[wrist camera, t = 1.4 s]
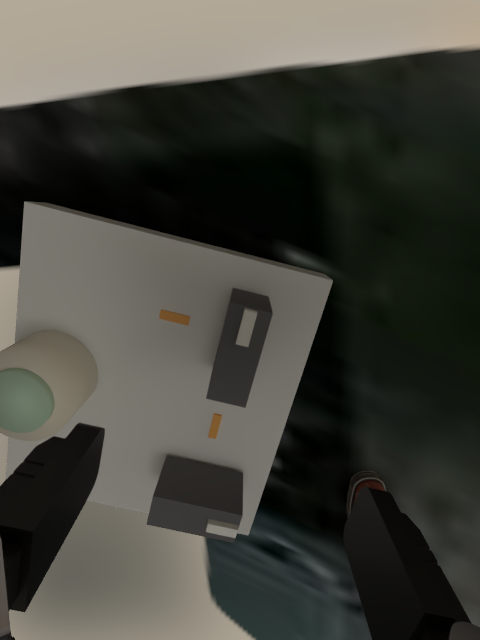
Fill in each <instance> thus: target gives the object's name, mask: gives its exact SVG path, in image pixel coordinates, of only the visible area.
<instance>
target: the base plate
mask: <svg viewBox="0 0 480 640" xmlns="http://www.w3.org/2000/svg"><path fill="white" fill-rule="evenodd" d="M332 283H333V280H332V279H331V278H329V277H328V276H327V275H325V274H322V273H318V272H315V271H311V270H307V269H303V268H299V267H295V266H291V265H287V264H283V263H279V262H276V261H272V260H268V259H264V258H260V257H256V256H252V255H248V254H244V253H240V252H237V251H233V250H229V249H225V248H221V247H217V246H213V245H209V244H205V243H201V242H198V241H194V240H190V239H186V238H182V237H178V236H174V235H170V234H166V233H162V232H159V231H155V230H151V229H147V228H143V227H139V226H135V225H131V224H127V223H123V222H120V221H116V220H112V219H108V218H104V217H100V216H96V215H92V214H88V213H85V212H81V211H77V210H73V209H69V208H65V207H61V206H57V205H53V204H49V203H42V202H24V215H23V230H22V245H21V260H20V275H19V290H18V291H19V292H18V305H17V320H16V335H15V344H13V345H11V346H9V347H8V348H6V349H4V350H2V351H1V352H0V433H2V434H4V435H6V436H9V441H8V455H7V470H6V471H7V472H6V479H7V478H8V477H9V476H10V475H11V474H13V472H14V470H15V469H16V468H17V467H18V466H19V465H20V464H21V463H23V461H24V459H25V458H26V457H27V456H28V455H29V454H30V453H31V451H32V450H33V449H34V448H35V447H36V446H37V445H39V444H41V443H43V442H44V441H46V440H48V439H50V438H51V437H53V436H56V437H61V438H66V437H67V436H68V434H69V433H70V432H71V431H72V429H73V428H74V427H75V426H76V425H77V424H78V423H84V424H89V425H93V426H98V427H102V428H105V436H104V442H103V448H102V454H101V460H100V467H99V472H98V476H97V479H96V482H95V485H94V487H93V489H92V491H91V493H90V495H89V497H88V499H87V501H89V502H94V503H99V504H104V505H109V506H113V507H117V508H122V509H127V510H131V511H136V512H141V513H146V514H149V512H150V507H151V502H152V498H153V494H154V491H155V488H156V485H157V482H158V479H159V476H160V473H161V470H162V467H163V464H164V461H165V458H166V456H171V457H175V458H180V459H184V460H189V461H193V462H198V463H202V464H207V465H211V466H216V467H220V468H225V469H229V470H234V471H238V472H243V516H242V519H241V522H240V525H239V528H238V532H237V533H239V534H244V535H249V532H250V529H251V526H252V523H253V520H254V517H255V514H256V511H257V508H258V505H259V502H260V499H261V496H262V493H263V490H264V487H265V484H266V481H267V478H268V475H269V472H270V469H271V466H272V463H273V460H274V457H275V454H276V451H277V448H278V445H279V442H280V439H281V436H282V433H283V430H284V427H285V424H286V421H287V418H288V415H289V412H290V409H291V406H292V403H293V400H294V397H295V394H296V391H297V388H298V385H299V382H300V379H301V376H302V373H303V370H304V367H305V364H306V361H307V358H308V355H309V352H310V349H311V346H312V343H313V340H314V337H315V334H316V331H317V328H318V325H319V322H320V319H321V316H322V313H323V310H324V307H325V304H326V301H327V298H328V295H329V292H330V289H331V286H332ZM233 288H236V289H240V290H244V291H248V292H252V293H256V294H260V295H264V296H268V297H269V300H270V304H271V308H272V312H273V315H272V318H271V322H270V325H269V329H268V332H267V335H266V339H265V342H264V346H263V349H262V353H261V356H260V360H259V363H258V366H257V370H256V373H255V377H254V380H253V384H252V387H251V391H250V394H249V398H248V401H247V404H246V408H244V407H240V406H235V405H231V404H227V403H222V402H218V401H214V400H210V399H206V396H207V392H208V387H209V383H210V378H211V374H212V369H213V365H214V361H215V357H216V353H217V349H218V345H219V341H220V337H221V333H222V329H223V325H224V321H225V317H226V313H227V309H228V305H229V301H230V297H231V293H232V289H233Z"/></svg>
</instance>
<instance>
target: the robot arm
mask: <svg viewBox="0 0 480 640" xmlns="http://www.w3.org/2000/svg"><path fill="white" fill-rule="evenodd" d="M104 436H105V428H102V427H98V426H93V425H89V424H84V423H78V424H77V425H76V426H75V427H74V428H73V429H72V431H71V432H70V433H69V434H68V436H67V437H66V438H61V437H56V436H53V437H51V438H50V439H48V440H46V441H44V442H43V443H41V444H39V445H37V446H36V447H35V448H34V449H33V450H32V451H31V453H30V454H29V455H28V456H27V457H26V458H25V459H24V461H23V463H21V464H20V465H19V466H18V467H17V468H16V469H15V470H14V472H13V474H11V475H10V476H9V477H8V478H7V479H6V480H5V481H4V483H3V484H2V485H1V486H0V640H15V638H14V637H12V636H11V631H10V623H9V610H10V609H11V610H17V611H21V612H25V611H26V609H27V607H28V606H29V604H30V602H31V600H32V598H33V596H34V595H35V593H36V591H37V589H38V587H39V585H40V584H41V582H42V580H43V578H44V577H45V575H46V573H47V571H48V569H49V568H50V566H51V564H52V562H53V560H54V559H55V557H56V555H57V553H58V551H59V549H60V548H61V546H62V544H63V542H64V540H65V539H66V537H67V535H68V533H69V531H70V530H71V528H72V526H73V524H74V522H75V520H76V519H77V517H78V515H79V513H80V511H81V510H82V508H83V506H84V504H85V502H86V501H87V499H88V497H89V495H90V493H91V491H92V489H93V487H94V485H95V482H96V479H97V476H98V472H99V467H100V460H101V454H102V448H103V442H104ZM344 546H345V550H346V553H347V556H348V560H349V563H350V566H351V570H352V573H353V577H354V580H355V583H356V587H357V590H358V593H359V597H360V600H361V603H362V607H363V610H364V613H365V617H366V620H367V623H368V627H369V630H370V633H371V637H372V640H480V627H478V626H476V625H474V624H472V623H471V622H470V620H469V618H468V616H467V614H466V613H465V611H464V609H463V607H462V605H461V603H460V602H459V600H458V598H457V596H456V594H455V593H454V591H453V589H452V587H451V585H450V584H449V582H448V580H447V578H446V576H445V575H444V573H443V571H442V569H441V567H440V566H438V564H437V563H438V562H437V560H436V558H435V556H434V555H433V553H432V551H430V550H429V548H430V547H429V546H428V544H427V542H426V540H425V538H424V537H423V535H422V533H421V531H420V530H419V528H418V527H417V526H416V525H415V524H414V523H413V522H412V521H411V520H410V518H409V517H408V516H407V515H406V514H404V513H401V512H400V510H399V508H398V506H397V504H396V502H395V500H394V498H393V496H392V495H391V494H390V493H389V492H387V491H383V490H378V489H374V488H369V487H362V488H361V490H360V491H359V493H358V496H357V498H356V500H355V503H354V505H353V507H352V510H351V512H350V514H349V517H348V519H347V521H346V524H345V527H344Z"/></svg>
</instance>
